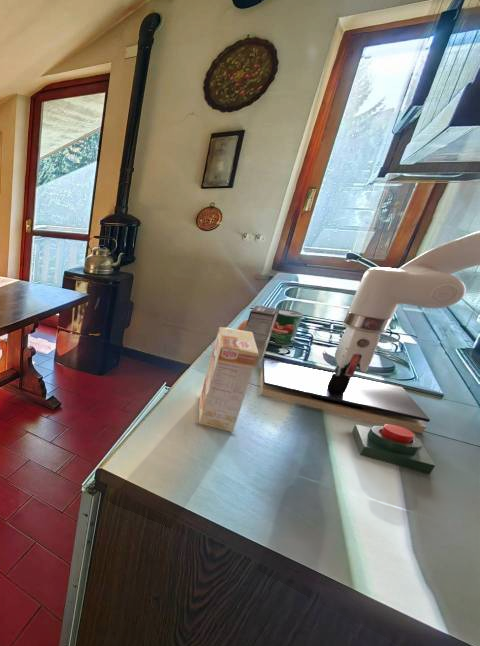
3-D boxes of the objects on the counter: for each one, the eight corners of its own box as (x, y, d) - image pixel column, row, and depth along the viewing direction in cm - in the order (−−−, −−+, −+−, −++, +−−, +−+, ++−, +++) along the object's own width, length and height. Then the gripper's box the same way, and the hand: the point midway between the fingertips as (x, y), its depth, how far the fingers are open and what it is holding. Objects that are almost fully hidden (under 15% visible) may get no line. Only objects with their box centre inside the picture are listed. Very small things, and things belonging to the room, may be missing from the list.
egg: (256, 344, 135) (264, 319, 132) (253, 349, 131) (262, 324, 127) (233, 339, 139) (241, 315, 136) (230, 344, 135) (238, 319, 131)
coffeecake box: (199, 396, 102) (218, 326, 94) (231, 403, 99) (254, 331, 91) (197, 424, 90) (219, 346, 82) (233, 433, 87) (260, 353, 79)
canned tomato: (267, 344, 136) (277, 314, 131) (262, 336, 142) (272, 307, 138) (294, 347, 133) (306, 317, 128) (289, 340, 139) (299, 310, 135)
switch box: (414, 448, 82) (423, 432, 81) (429, 474, 75) (440, 458, 73) (351, 432, 87) (358, 417, 86) (359, 455, 80) (368, 439, 78)
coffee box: (241, 350, 130) (255, 304, 124) (264, 356, 126) (280, 308, 120) (235, 359, 124) (250, 310, 117) (259, 364, 120) (276, 315, 113)
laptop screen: (428, 422, 86) (430, 419, 86) (263, 384, 102) (264, 382, 101) (401, 389, 102) (402, 386, 102) (262, 361, 118) (263, 359, 118)
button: (407, 436, 80) (411, 428, 79) (413, 446, 77) (417, 439, 76) (378, 428, 82) (381, 421, 82) (383, 439, 79) (386, 431, 78)
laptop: (422, 433, 87) (426, 426, 86) (260, 394, 103) (262, 388, 102) (397, 395, 103) (401, 389, 102) (260, 366, 119) (262, 361, 118)
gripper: (397, 334, 83) (360, 407, 91) (380, 316, 95) (349, 383, 102) (350, 327, 87) (319, 397, 95) (340, 311, 98) (313, 375, 106)
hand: (335, 390), depth 98 cm, fingers closed
